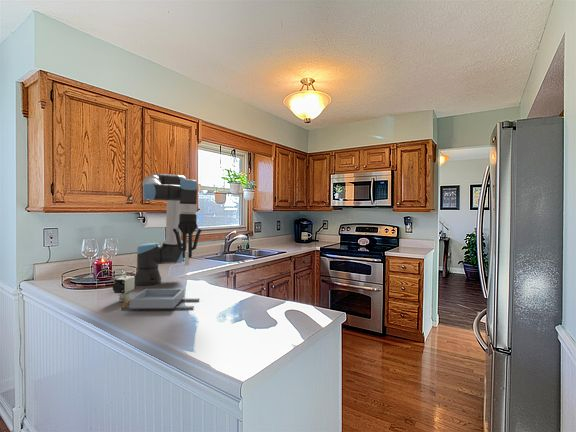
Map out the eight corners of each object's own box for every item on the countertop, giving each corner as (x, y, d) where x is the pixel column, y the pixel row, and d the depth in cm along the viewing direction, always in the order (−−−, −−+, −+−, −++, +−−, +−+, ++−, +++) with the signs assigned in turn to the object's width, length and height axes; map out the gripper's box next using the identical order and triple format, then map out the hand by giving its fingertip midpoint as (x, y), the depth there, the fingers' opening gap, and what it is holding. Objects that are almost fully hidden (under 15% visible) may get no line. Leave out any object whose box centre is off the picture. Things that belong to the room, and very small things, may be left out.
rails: (133, 300, 146) (133, 296, 146) (199, 300, 148) (199, 296, 148) (119, 309, 132) (119, 305, 132) (192, 309, 134) (193, 305, 134)
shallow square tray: (145, 296, 148) (146, 288, 148) (184, 296, 150) (184, 288, 150) (129, 308, 130) (129, 299, 130) (173, 308, 132) (173, 299, 132)
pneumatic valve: (136, 297, 151) (137, 273, 151) (121, 304, 140) (121, 278, 139) (126, 297, 152) (126, 272, 152) (110, 304, 140) (110, 277, 140)
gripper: (171, 213, 137) (170, 266, 137) (201, 213, 138) (200, 266, 138) (175, 213, 144) (174, 263, 145) (204, 213, 146) (203, 263, 146)
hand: (187, 264), depth 141 cm, fingers closed
